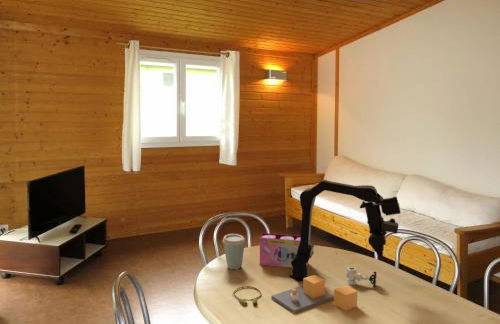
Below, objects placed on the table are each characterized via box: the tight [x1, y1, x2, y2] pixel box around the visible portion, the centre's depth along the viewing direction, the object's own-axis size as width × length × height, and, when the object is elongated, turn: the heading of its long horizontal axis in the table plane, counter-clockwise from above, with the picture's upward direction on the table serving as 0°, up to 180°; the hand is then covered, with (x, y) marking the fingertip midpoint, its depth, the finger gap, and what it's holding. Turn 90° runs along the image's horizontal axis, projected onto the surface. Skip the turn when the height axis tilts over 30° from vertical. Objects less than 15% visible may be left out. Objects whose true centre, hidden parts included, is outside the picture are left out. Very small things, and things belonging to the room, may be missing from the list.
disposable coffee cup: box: [222, 233, 246, 270], centre depth 186 cm, size 11×11×15 cm
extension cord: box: [232, 285, 262, 306], centre depth 158 cm, size 12×16×2 cm
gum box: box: [258, 232, 309, 268], centre depth 190 cm, size 24×8×14 cm, turn 75°
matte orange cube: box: [333, 285, 358, 311], centre depth 150 cm, size 6×6×6 cm
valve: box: [346, 266, 377, 288], centre depth 168 cm, size 7×7×12 cm
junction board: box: [270, 274, 334, 314], centre depth 155 cm, size 14×20×7 cm
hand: (382, 254), depth 161 cm, fingers open, 9 cm apart
